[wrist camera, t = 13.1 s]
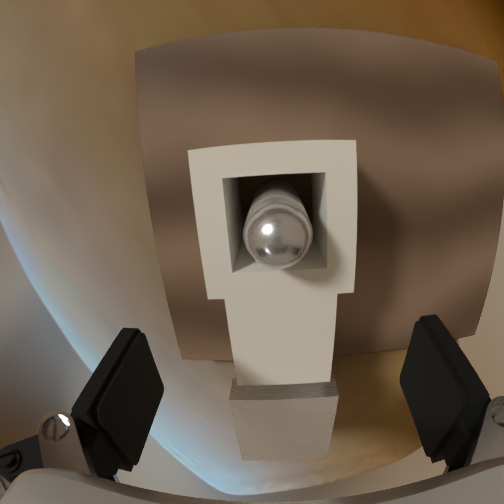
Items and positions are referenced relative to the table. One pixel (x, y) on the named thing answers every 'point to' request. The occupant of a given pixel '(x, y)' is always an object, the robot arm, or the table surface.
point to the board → (368, 167)
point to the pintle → (277, 226)
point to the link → (278, 280)
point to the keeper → (284, 419)
